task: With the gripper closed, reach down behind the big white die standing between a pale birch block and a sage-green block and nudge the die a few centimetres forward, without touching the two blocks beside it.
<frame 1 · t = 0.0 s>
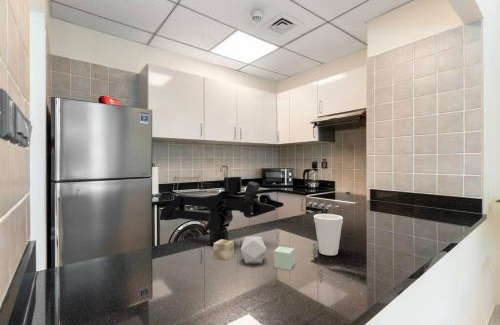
hand: (279, 206, 87), 17 cm above the counter, tool horizontal, fingers open, 9 cm apart
die: (253, 262, 79), on the counter
cup: (328, 254, 86), on the counter
sage block: (284, 266, 75), on the counter
birch block: (223, 256, 83), on the counter
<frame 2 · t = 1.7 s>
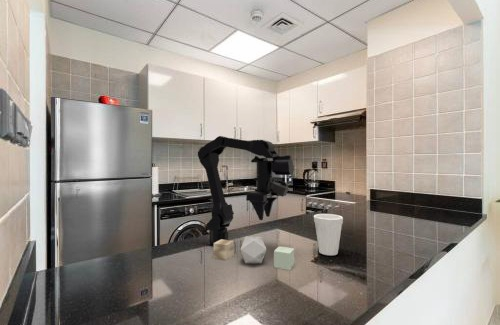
hand: (264, 218, 88), 12 cm above the counter, tool pointing down, fingers open, 6 cm apart
nothing on the counter moved.
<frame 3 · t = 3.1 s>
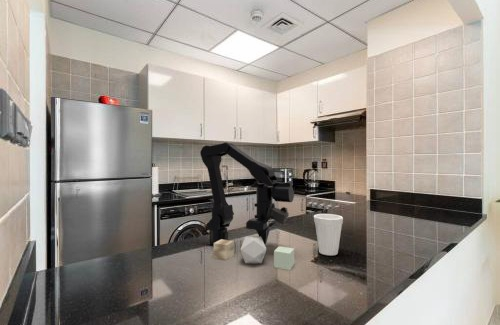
hand: (264, 244, 88), 3 cm above the counter, tool pointing down, fingers closed
nothing on the counter moved.
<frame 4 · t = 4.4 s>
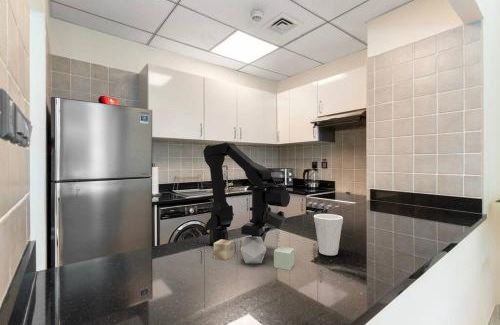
hand: (260, 249, 84), 2 cm above the counter, tool pointing down, fingers closed
die: (253, 262, 79), on the counter, touching gripper
everything else where it was.
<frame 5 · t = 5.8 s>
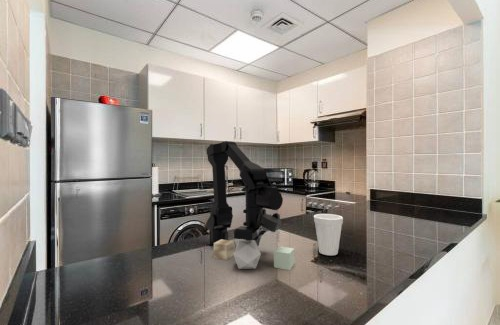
hand: (254, 254, 79), 2 cm above the counter, tool pointing down, fingers closed
die: (246, 267, 74), on the counter, touching gripper
everything else where it was.
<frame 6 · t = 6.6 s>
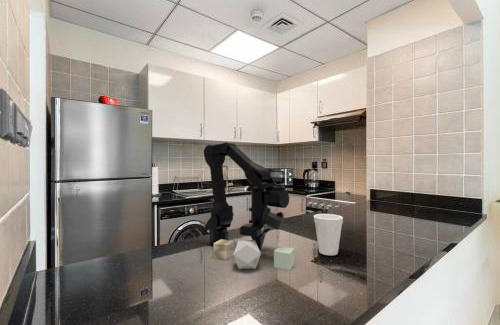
hand: (259, 250, 84), 2 cm above the counter, tool pointing down, fingers closed
die: (246, 267, 74), on the counter
everything else where it was.
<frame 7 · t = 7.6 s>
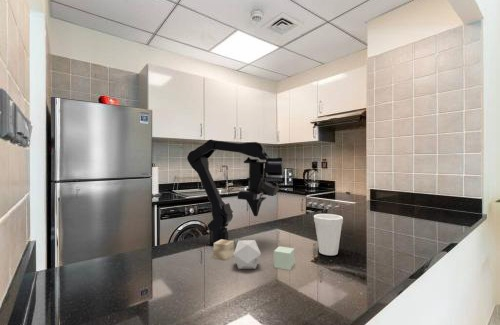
hand: (255, 216, 93), 12 cm above the counter, tool pointing down, fingers closed
nothing on the counter moved.
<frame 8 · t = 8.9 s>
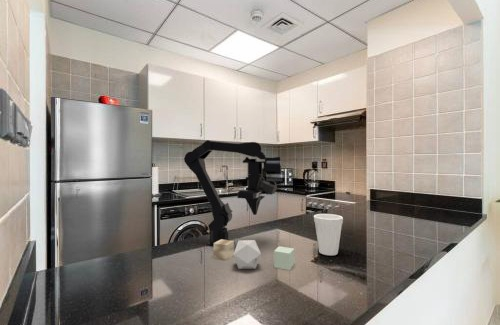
hand: (254, 214, 95), 12 cm above the counter, tool pointing down, fingers closed
nothing on the counter moved.
at the end: die moved 4.7 cm from its start; birch block moved 0.1 cm from its start; sage block moved 0.1 cm from its start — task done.
